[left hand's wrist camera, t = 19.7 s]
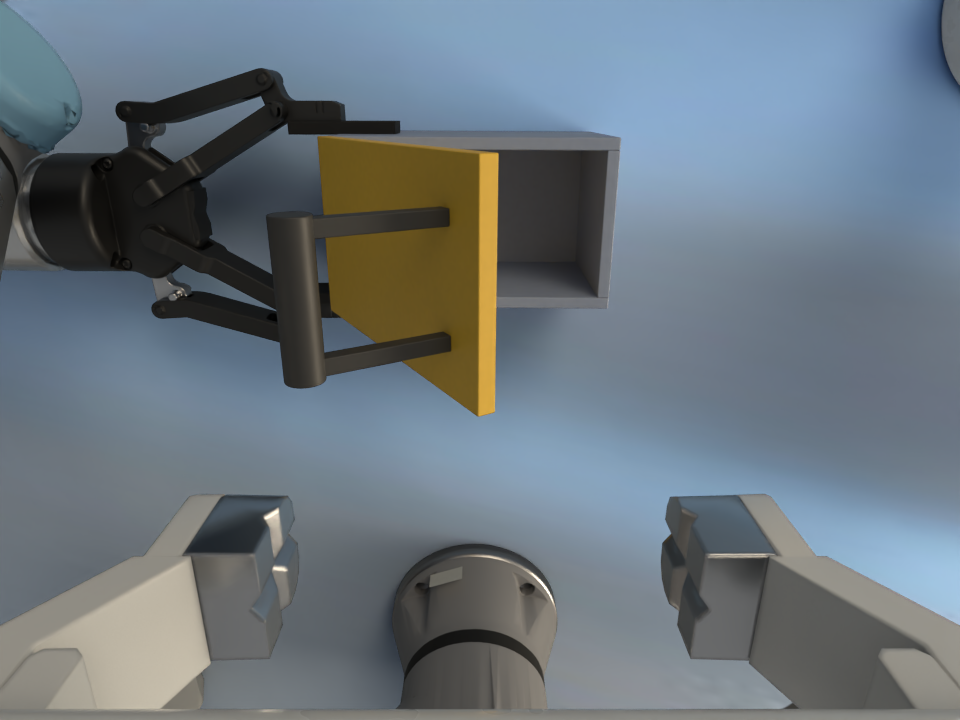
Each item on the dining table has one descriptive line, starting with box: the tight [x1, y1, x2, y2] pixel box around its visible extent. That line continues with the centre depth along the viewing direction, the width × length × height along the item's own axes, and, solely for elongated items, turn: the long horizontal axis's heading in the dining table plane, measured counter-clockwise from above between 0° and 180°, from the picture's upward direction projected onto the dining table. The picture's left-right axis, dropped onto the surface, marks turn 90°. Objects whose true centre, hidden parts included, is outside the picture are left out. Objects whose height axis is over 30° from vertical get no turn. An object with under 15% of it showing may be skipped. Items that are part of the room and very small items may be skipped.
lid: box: [266, 136, 498, 417], centre depth 30 cm, size 17×10×8 cm
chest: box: [330, 131, 621, 308], centre depth 44 cm, size 17×10×11 cm, turn 90°
